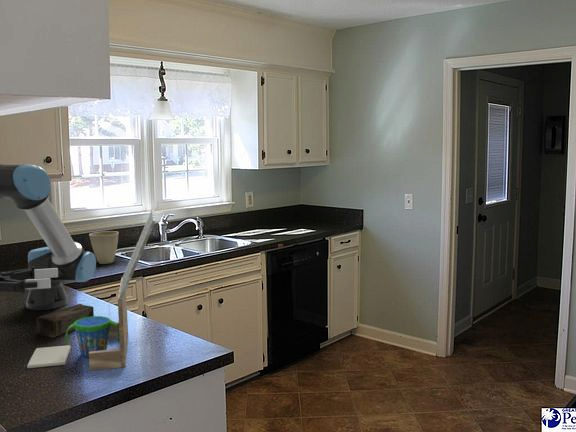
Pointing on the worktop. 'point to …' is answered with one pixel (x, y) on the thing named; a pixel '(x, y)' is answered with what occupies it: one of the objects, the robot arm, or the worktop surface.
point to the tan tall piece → (122, 310)
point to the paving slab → (49, 356)
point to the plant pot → (104, 245)
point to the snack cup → (92, 333)
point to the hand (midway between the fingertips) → (54, 277)
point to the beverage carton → (62, 320)
